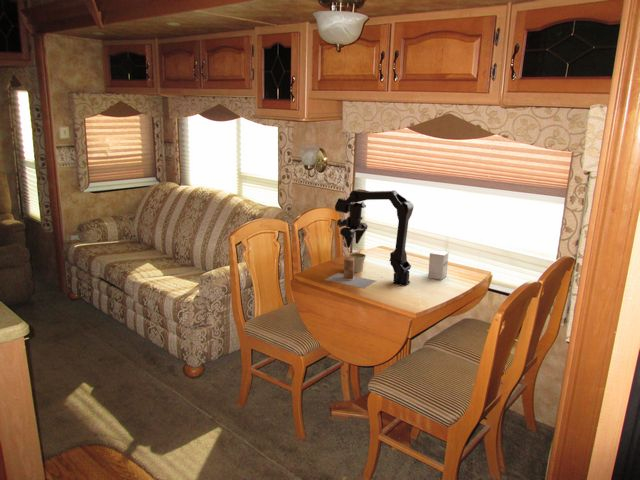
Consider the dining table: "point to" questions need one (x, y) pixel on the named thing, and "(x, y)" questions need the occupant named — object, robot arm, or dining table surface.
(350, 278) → the walnut block
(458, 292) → the dining table surface
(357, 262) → the flower pot
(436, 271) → the supplement box
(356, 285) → the rubber mat
